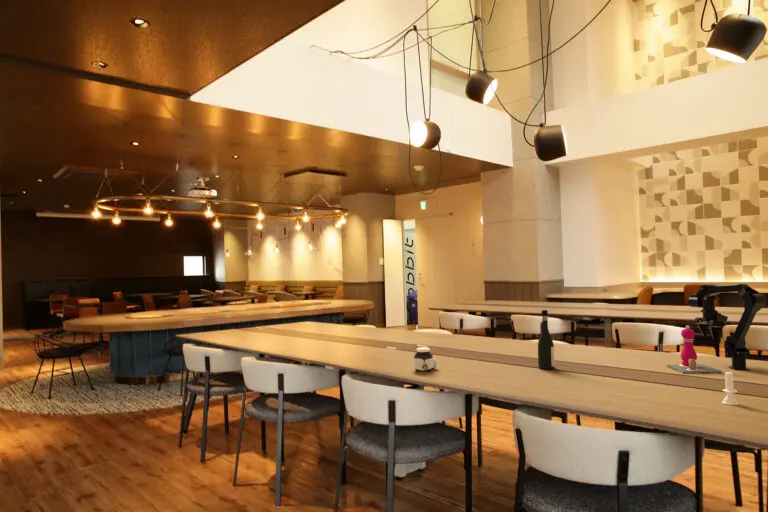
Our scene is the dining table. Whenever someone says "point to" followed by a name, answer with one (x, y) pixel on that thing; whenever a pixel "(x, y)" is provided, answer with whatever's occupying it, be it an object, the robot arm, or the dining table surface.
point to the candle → (729, 389)
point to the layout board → (700, 367)
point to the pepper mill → (688, 346)
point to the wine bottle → (545, 345)
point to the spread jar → (424, 360)
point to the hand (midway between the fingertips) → (710, 338)
